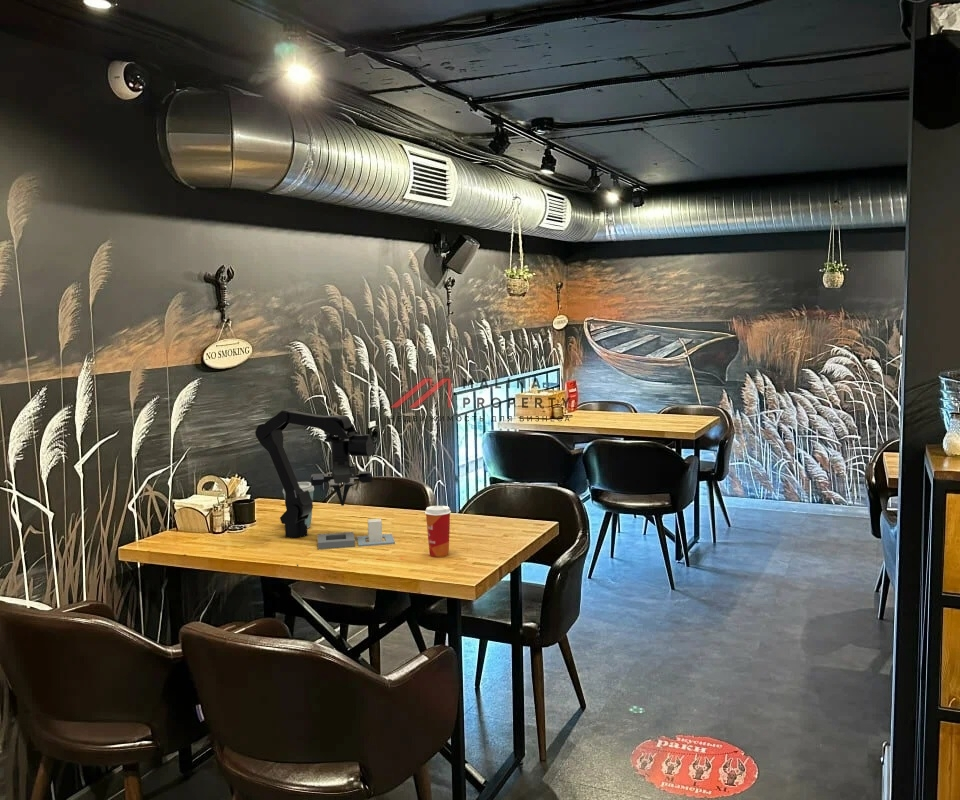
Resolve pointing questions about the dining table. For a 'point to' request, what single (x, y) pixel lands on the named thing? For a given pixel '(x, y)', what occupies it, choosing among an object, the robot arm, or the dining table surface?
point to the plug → (374, 530)
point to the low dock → (362, 542)
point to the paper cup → (438, 530)
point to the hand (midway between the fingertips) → (342, 505)
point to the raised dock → (336, 540)
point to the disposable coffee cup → (310, 488)
